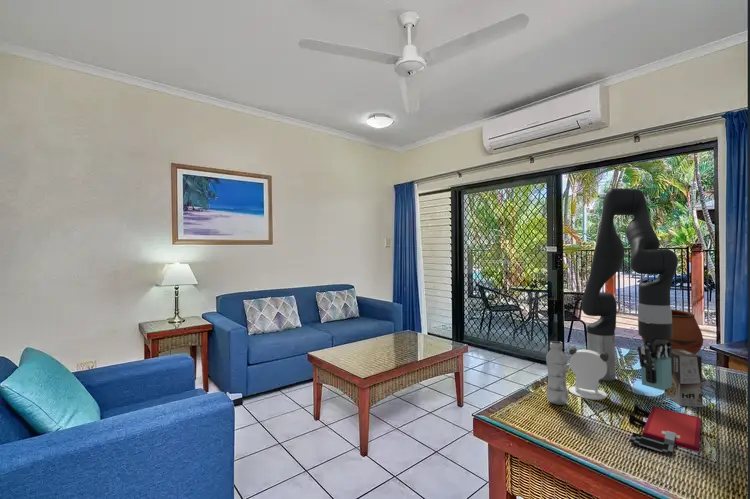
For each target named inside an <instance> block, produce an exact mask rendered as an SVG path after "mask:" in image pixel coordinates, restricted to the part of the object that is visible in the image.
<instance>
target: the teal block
mask: <svg viewBox="0 0 750 499" xmlns="http://www.w3.org/2000/svg"><path fill="white" fill-rule="evenodd" d="M651 358H655V357H651ZM644 361H645V360H644ZM652 363H653V361H652ZM640 367H641V366H640ZM640 369H641V385H643V386H646V387H648V388H649V387H650V388H653V389H657V390H660V391H664V390H665V389H668V388H670V387H672V372H671V358H669V357H667V358H665V357H661V356H660V360H658V362H656V383H654V384H653V383H649V382H647V381H646V368H644V367H641V368H640Z"/></svg>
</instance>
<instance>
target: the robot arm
mask: <svg viewBox="0 0 750 499" xmlns="http://www.w3.org/2000/svg"><path fill="white" fill-rule="evenodd" d="M601 210H602V212H601V219H600V226H599V232H598V235H597V239H596V244H595V248H594V252H593V256H592V262H591V266H590V267H591V268H590V271H589V276H588V278H587V279H588V280H587V282H586V283H587V284H586V286H585V288H584V292H583V295H582V297H581V298H582V299H581V310H582V312H583V314H584V315H586V316H589V317H599V319H598V320H596V321H594V322H591V323H589V324H588V325H587V327H586V339H587V340H586V341H587V343H586V346H587V349H586V350H591V351H595V352H597V353H599V354H601V352H603V351H604V352H606V353H607V354H608V356H609V357H608V360H607V361H606V363H607V373H606V375H605V376H604V377H603V378H602V380H601V381H607V382H611V381H615V380H616V375H617V374H616V339H615V336H616V334H615V330H616V328H617V310H618V309H617V300H616V298H615V296H614V295H613V294H612V293H610V292H601V290H602V288H603V286H605V284H606V283H607V282H608V281H609V280H610V279H611V278H613V277H614V275H616V274H617V273H618V272H619V270H620V269H621V267H622V264H623V260H624V256H625V246H624V244H623V242H622V240H621V238H620V237H619V235H618V232H617V231H616V228H615V224H614V220H615V216H633V219H631V221H629V223H628V225H627V227H626V229H625V236H626V239H627V242H628V243H629V244H628V245H629V247H630V254H631V255H630V261H629V263H630V264H629V265H630V268H631V271H633V272H634V273H636V274H638V275H658V276H657V278H656V279H655V280H653V281H648V282H643V283H641V284H639V285H638V289H637V290H638V308H637V323H638V324H637V330H638V335H639V336H640V337H641V338H642V337H644V338H645V341H644V342H643V346H638V347H637V352H638V354H637V355H638V359H639V365H640V367H644V368H646V381H647V382H649V383H653V384H654V383H656V362H658V360H660V356H661V357H665V358H667V357H669V358H671V354H672V342H667V341H666V340H668V339H671V338H672V312H671V310H672V307H671V289H672V288H671V287H672V283H673V281H674V276H675V274H676V271H677V267H678V263H679V259H678V257H677V254H676V253H675V252H674V250H671V249H667V248H665V249H664V248H662V249H660V245H661V243H660V242H661V241H660V240H659V237H658V235H657V234H656V232H655V230H654V227H653V226H652V223H651V222H652V221H651V218H650V215H649V214H650V213H649V208H648V205H647V201H646V197H645V195H644V193H643V191H642V190H641V189H638V188H625V187H624V188H621V187H620V188H618V187H617V188H615V187H614V188H612V187H611V188H609V189H607V191H606V192H605V195H604V198H603V203H602V208H601ZM651 357H655V358H651ZM644 360H645V361H644ZM652 361H653V363H652Z"/></svg>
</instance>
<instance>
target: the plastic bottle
mask: <svg viewBox="0 0 750 499" xmlns="http://www.w3.org/2000/svg"><path fill="white" fill-rule="evenodd" d="M549 344H550V345H549V348H550V350H549V351H548V352H547V353H546V357H545V360H546V368H547V387H546V399H547V401H548V402H549V403H550V404H554V405H558V406H564V405H565V406H566V405H567V403H568V401H569V392H568V389H567V388H568V387H567V367H568V358H567V357H568V356H567V355H566V354H565V352H564V351H563V349H564V346H563V342H562V341H556V340H552V341H550V342H549Z"/></svg>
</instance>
